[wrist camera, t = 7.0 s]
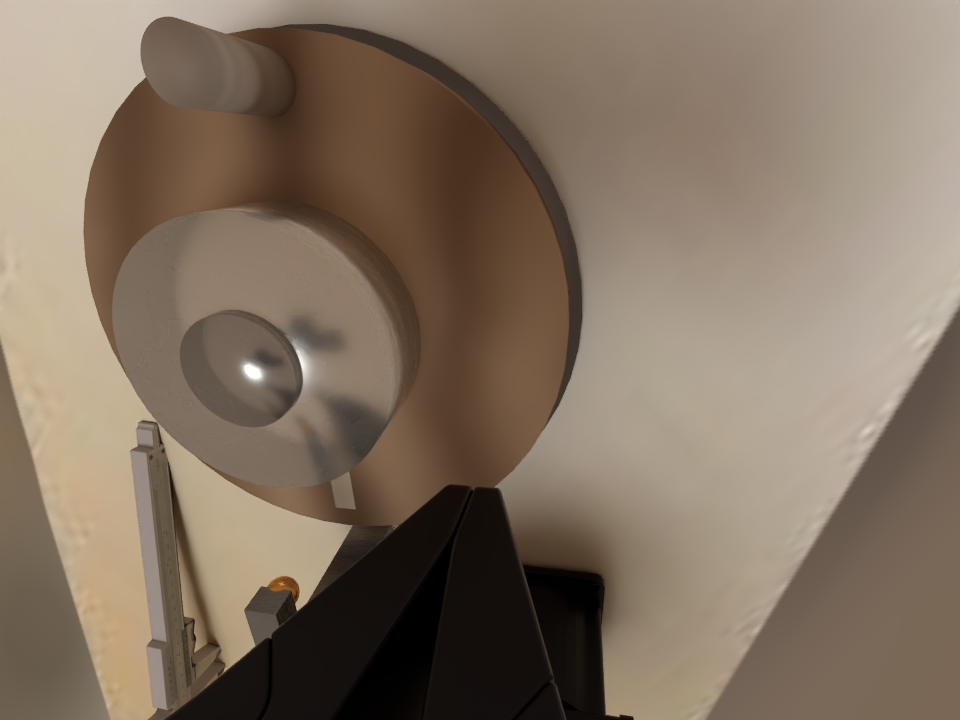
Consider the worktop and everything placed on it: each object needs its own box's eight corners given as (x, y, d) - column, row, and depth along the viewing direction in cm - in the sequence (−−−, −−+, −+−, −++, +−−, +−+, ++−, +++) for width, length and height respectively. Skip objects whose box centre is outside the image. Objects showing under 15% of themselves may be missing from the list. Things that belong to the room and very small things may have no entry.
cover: (407, 196, 17) (358, 210, 13) (431, 445, 21) (399, 510, 17) (155, 203, 18) (49, 217, 15) (222, 430, 22) (151, 486, 19)
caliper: (229, 664, 35) (162, 765, 29) (216, 661, 35) (146, 761, 29) (160, 420, 27) (48, 494, 21) (143, 417, 27) (27, 491, 21)
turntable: (580, 15, 15) (582, -57, 10) (561, 516, 23) (557, 628, 18) (57, 61, 19) (-151, 27, 14) (195, 481, 27) (99, 566, 21)
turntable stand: (597, -2, 15) (618, -165, 7) (569, 571, 25) (565, 773, 17) (54, 50, 19) (-327, -21, 11) (212, 530, 29) (70, 679, 21)
